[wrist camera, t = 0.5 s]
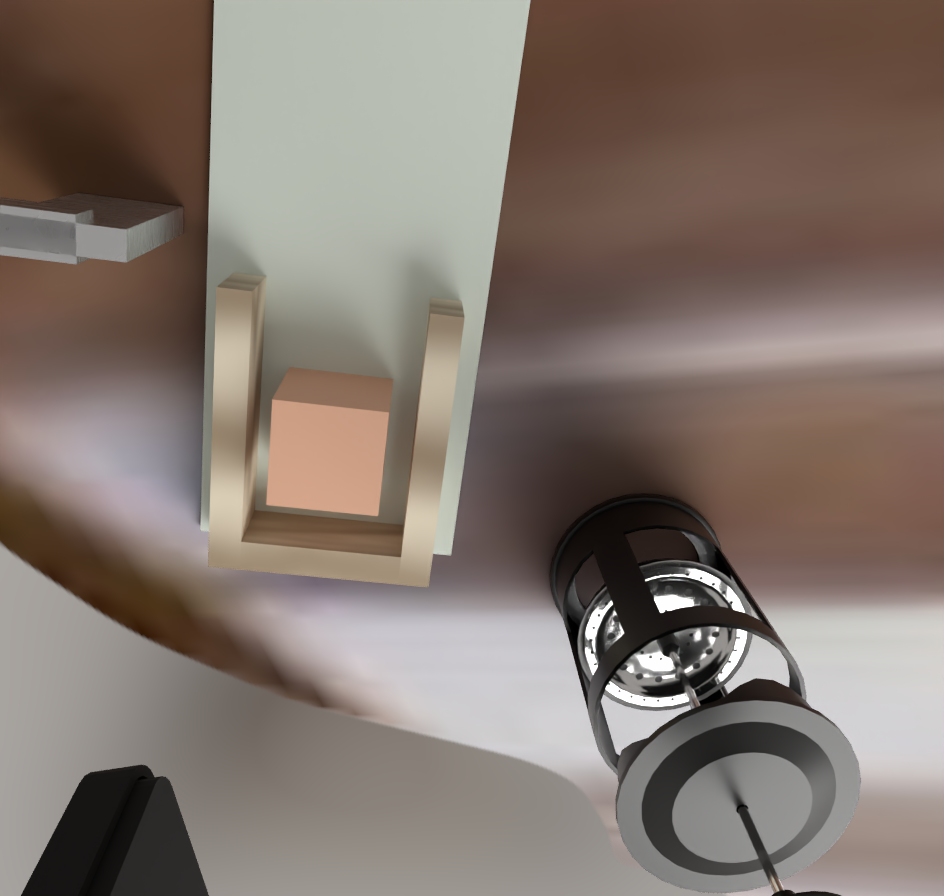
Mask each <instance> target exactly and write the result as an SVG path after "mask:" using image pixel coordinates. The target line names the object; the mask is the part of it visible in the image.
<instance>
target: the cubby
mask: <svg viewBox="0 0 944 896" xmlns="http://www.w3.org/2000/svg"><path fill="white" fill-rule="evenodd" d="M266 280H267V277H266V276H258V275H250V274H242V273H232V274H231V275H230V276H229V277H228V278H227V279H225V280H224V281H223V282H222V283H221V284H219V285H218V286H217V287H216V318H215V351H214V385H213V418H212V452H211V485H210V518H209V552H208V567H217V568H228V569H239V570H249V571H260V572H271V573H281V574H292V575H303V576H313V577H324V578H335V579H345V580H356V581H366V582H377V583H388V584H398V585H409V586H420V587H428V586H429V579H430V571H431V564H432V557H433V549H434V542H435V534H436V527H437V519H438V512H439V505H440V497H441V490H442V482H443V475H444V468H445V460H446V453H447V445H448V438H449V430H450V423H451V416H452V408H453V401H454V393H455V386H456V379H457V371H458V364H459V356H460V349H461V341H462V334H463V327H464V319H465V317H464V311H463V305H462V301H457V300H449V299H441V298H433V297H430V302H429V311H428V319H427V328H426V336H425V344H424V353H423V361H422V370H421V378H420V386H419V395H418V403H417V411H416V420H415V428H414V437H413V445H412V453H411V462H410V470H409V479H408V487H407V495H406V504H405V512H404V521H403V525H399V524H389V523H379V522H369V521H359V520H349V519H339V518H329V517H319V516H309V515H299V514H289V513H279V512H269V511H259V510H255V497H256V477H257V458H258V438H259V418H260V398H261V378H262V359H263V339H264V319H265V299H266Z"/></svg>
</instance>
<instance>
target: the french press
mask: <svg viewBox="0 0 944 896" xmlns="http://www.w3.org/2000/svg"><path fill="white" fill-rule="evenodd" d="M656 528H659V529H672V530H677V531H681V532H682V533H683V534H684V535H686V536H687V537H688V538H689V539H690V541H691V542H692V543H693V545H694V547H695V549H696V551H697V554H698V559H699V563H698V562H694V561H691V560H687V559H674V558H666V559H654V560H649V561H644V562H641V563H637V561H636V558H635V556H634V554H633V552H632V550H631V548H630V546H629V543H628V541H627V539H626V537H625V534H628V533H632V532H635V531H639V530H646V529H656ZM593 553H594V555H595V558H596V560H597V563H598V566H599V568H600V571H601V574H602V576H603V579H604V582H605V584H604V585H603V586H602V587H601V588H600V589H599V590H598V591H597V593H596V594H595V595H594V597H593V599H592V600H591V602H590V603H589V605H588V607H587V610H586V609H585V608H584V607H583V606H582V604H581V602H580V600H579V599H578V597H577V593H576V590H575V575H576V574H577V572H578V571H579V569H580V568H581V566H582V565H583V563H584V562H585V561H586V560H587V559H588V558H589V557H590V556H591V555H592V554H593ZM550 581H551V591H552V594H553V598H554V601H555V604H556V607H557V608H558V610H559V612H560V614H561V616H562V617H563V620H564V623H565V627H566V630H567V634H568V637H569V641H570V645H571V649H572V652H573V656H574V660H575V664H576V667H577V671H578V675H579V679H580V682H581V686H582V690H583V694H584V697H585V701H586V705H587V709H588V714H589V718H590V722H591V725H592V729H593V733H594V736H595V740H596V743H597V747H598V750H599V752H600V753H601V755H602V757H603V759H604V760H605V762H606V764H607V765H608V766H609V767H610V768H611V769H612V770H613V771H614V772H615V773H616V774H617V775H618V782H619V786H618V790H617V795H616V819H617V823H618V827H619V830H620V833H621V837H622V840H623V842H624V844H625V846H626V847H627V849H628V851H629V852H630V854H631V856H632V857H633V858H634V859H635V860H636V861H637V862H638V863H639V864H640V865H641V866H642V867H643V868H644V869H645V870H646V871H648V872H650V873H651V874H653V875H654V876H656V877H657V878H659V879H661V880H662V881H665V882H667V883H670V884H673V885H675V886H677V887H680V888H684V889H689V890H694V891H698V892H708V893H709V892H710V893H731V892H741V891H748V890H752V889H756V888H760V887H764V886H768V885H770V886H771V888H772V890H773V893H774V894H773V895H772V896H841V895H838V894H834V893H829V892H818V891H810V892H801V893H796V894H795V893H794V892H793V891H791V890H784V887H783V885H782V883H781V880H783V879H786V878H788V877H791V876H793V875H794V874H796V873H798V872H799V871H801V870H803V869H804V868H806V867H808V866H810V865H811V864H812V863H814V862H815V861H816V860H817V859H818V858H820V857H821V856H822V855H823V854H825V853H826V852H827V851H828V850H829V849H830V848H831V847H832V846H833V844H834V843H835V842H836V841H837V840H838V839H839V838H840V837H841V835H842V834H843V832H844V831H845V829H846V827H847V826H848V824H849V822H850V821H851V819H852V817H853V815H854V812H855V809H856V806H857V803H858V800H859V794H860V785H861V777H860V770H859V763H858V760H857V758H856V755H855V753H854V751H853V749H852V746H851V744H850V743H849V741H848V740H847V738H846V737H845V736H844V735H843V733H842V732H841V731H840V730H839V728H838V727H837V726H836V725H835V724H834V723H833V722H832V721H830V720H829V719H828V718H827V717H825V716H824V715H823V714H821V713H820V712H819V711H816V710H814V709H812V708H811V707H810V706H809V704H808V703H807V702H806V690H805V685H804V679H803V676H802V674H801V672H800V670H799V668H798V665H797V663H796V662H795V660H794V659H793V657H792V656H791V654H790V653H789V651H788V650H787V648H786V647H785V645H784V644H783V642H782V641H781V639H780V638H779V636H778V635H777V633H776V632H775V630H774V628H773V627H772V625H771V624H770V622H769V621H768V619H767V618H766V616H765V615H764V613H763V612H762V610H761V609H760V607H759V606H758V604H757V603H756V601H755V600H754V598H753V597H752V595H751V594H750V592H749V591H748V589H747V588H746V586H745V585H744V583H743V582H742V580H741V579H740V577H739V576H738V574H737V573H736V571H735V570H734V568H733V567H732V565H731V564H730V562H729V561H728V559H727V558H726V556H725V555H724V553H723V552H722V550H721V546H720V543H719V541H718V539H717V537H716V535H715V533H714V531H713V529H712V528H711V527H710V525H709V524H708V523H707V521H706V520H705V519H704V518H703V517H702V516H701V515H700V514H699V513H697V512H696V511H695V510H694V509H693V508H691V507H690V506H688V505H686V504H684V503H682V502H680V501H678V500H675V499H672V498H668V497H665V496H661V495H652V494H635V495H625V496H622V497H618V498H615V499H611V500H608V501H606V502H604V503H602V504H600V505H598V506H596V507H593V508H592V509H591V510H589V511H588V512H586V513H585V514H584V515H582V516H581V517H579V518H578V519H577V520H576V521H575V522H574V524H573V525H572V526H571V527H570V528H569V529H568V530H567V531H566V533H565V534H564V536H563V537H562V539H561V541H560V542H559V544H558V546H557V549H556V551H555V554H554V556H553V559H552V565H551V571H550ZM736 584H737V585H738V586H737V585H736ZM738 587H739V588H740V589H739V588H738ZM746 599H747V600H746ZM747 601H748V602H749V604H750V605H751V607H752V608H753V610H754V611H755V613H756V615H757V616H758V618H759V619H760V620H758V619H756V618H754V617H752V615H751V610H750V607H749V604H748V602H747ZM752 634H755V635H757V636H759V637H761V638H763V639H765V640H767V641H769V642H770V643H771V644H772V645H774V646H775V647H776V648H778V649H779V650H780V651H781V653H782V655H783V656H784V658H785V659H786V661H787V664H788V670H789V675H790V683H789V687H786V686H784V685H782V684H780V683H778V682H776V681H774V680H766V679H757V678H756V679H753V680H751V681H749V682H746V683H744V684H742V685H740V686H738V687H737V688H736V689H734V690H733V691H732V692H730V693H729V694H728V692H727V690H726V688H725V686H724V685H725V684H726V683H727V682H728V681H729V680H730V679H731V678H732V677H733V676H734V674H735V673H736V672H737V671H738V669H739V668H740V667H741V665H742V663H743V661H744V659H745V657H746V655H747V653H748V651H749V648H750V644H751V640H752ZM603 694H604V695H605V696H607V697H608V698H609V699H611V700H613V701H615V702H617V703H620V704H622V705H624V706H627V707H631V708H635V709H640V710H652V711H661V710H671V709H676V708H680V707H684V706H688V705H690V706H691V710H689V711H687V712H684V713H682V714H680V715H678V716H677V717H675V718H674V719H672V720H671V721H669V722H667V723H666V724H664V725H663V726H661V727H660V728H658V729H657V730H656V731H655V732H654V733H653V734H652V735H651V736H650V737H649V738H646V739H643V740H640V741H637V742H634V743H632V744H630V745H629V746H627V747H626V748H624V749H623V750H622V752H621V755H620V756H619V755H618V754H616V752H615V749H614V745H613V742H612V739H611V735H610V732H609V728H608V725H607V721H606V718H605V715H604V711H603V708H602V704H601V699H602V696H603Z"/></svg>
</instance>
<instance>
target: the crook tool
mask: <svg viewBox="0 0 944 896" xmlns="http://www.w3.org/2000/svg"><path fill="white" fill-rule="evenodd" d="M183 222H184V207H182V206H175V205H167V204H159V203H152V202H144V201H137V200H129V199H122V198H114V197H106V196H99V195H91V194H84V193H76V194H72V195H67V196H63V197H59V198H55V199H51V200H47V201H42V202H33V201H26V200H18V199H10V198H3V197H0V255H5V256H14V257H22V258H30V259H38V260H46V261H54V262H62V263H70V264H78V263H81V262H83V261H85V260H88V259H90V258H95V259H103V260H111V261H119V262H128V261H130V260H132V259H134V258H136V257H138V256H140V255H142V254H144V253H146V252H148V251H150V250H152V249H154V248H156V247H158V246H160V245H162V244H164V243H166V242H168V241H170V240H172V239H174V238H176V237H178V236H180V235H182V234H183Z"/></svg>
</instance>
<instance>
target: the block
mask: <svg viewBox="0 0 944 896" xmlns="http://www.w3.org/2000/svg"><path fill="white" fill-rule="evenodd" d="M392 387H393V379H389V378H380V377H372V376H363V375H355V374H346V373H337V372H329V371H320V370H311V369H303V368H294V367H289V369H288V371H287V373H286V375H285V377H284V378H283V380H282V382H281V384H280V386H279V388H278V390H277V391H276V393H275V395H274V397H273V399H272V412H271V430H270V448H269V466H268V484H267V502H266V505H272V506H281V507H291V508H301V509H311V510H321V511H331V512H341V513H351V514H361V515H370V516H378V512H379V504H380V496H381V488H382V479H383V471H384V462H385V452H386V443H387V434H388V425H389V415H390V406H391V397H392Z"/></svg>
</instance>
